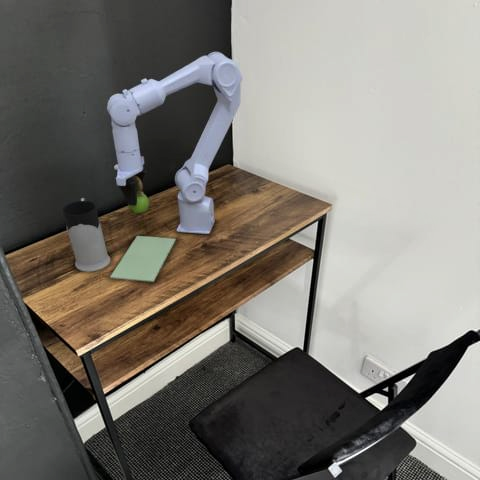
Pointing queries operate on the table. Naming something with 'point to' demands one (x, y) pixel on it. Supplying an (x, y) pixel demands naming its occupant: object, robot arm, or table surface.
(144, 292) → the table surface
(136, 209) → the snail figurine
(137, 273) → the desk pad
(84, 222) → the glass holder
